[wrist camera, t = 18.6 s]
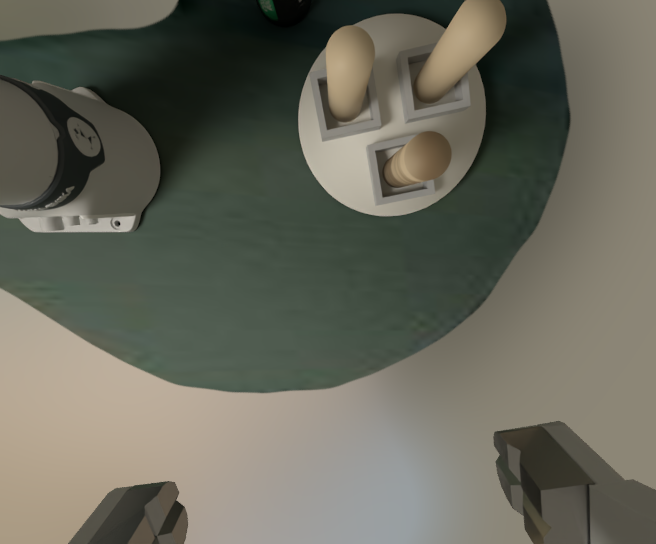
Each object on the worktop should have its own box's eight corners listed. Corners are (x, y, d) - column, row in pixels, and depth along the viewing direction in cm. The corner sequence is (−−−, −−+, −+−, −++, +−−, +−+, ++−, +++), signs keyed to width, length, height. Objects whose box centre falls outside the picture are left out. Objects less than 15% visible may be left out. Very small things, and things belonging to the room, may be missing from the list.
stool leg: (384, 190, 39) (408, 184, 27) (379, 158, 39) (401, 136, 26) (415, 184, 39) (454, 175, 27) (411, 152, 38) (448, 126, 26)
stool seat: (319, 230, 43) (311, 243, 28) (282, 50, 38) (248, -50, 23) (484, 197, 42) (569, 193, 27) (467, 5, 37) (558, -132, 22)
